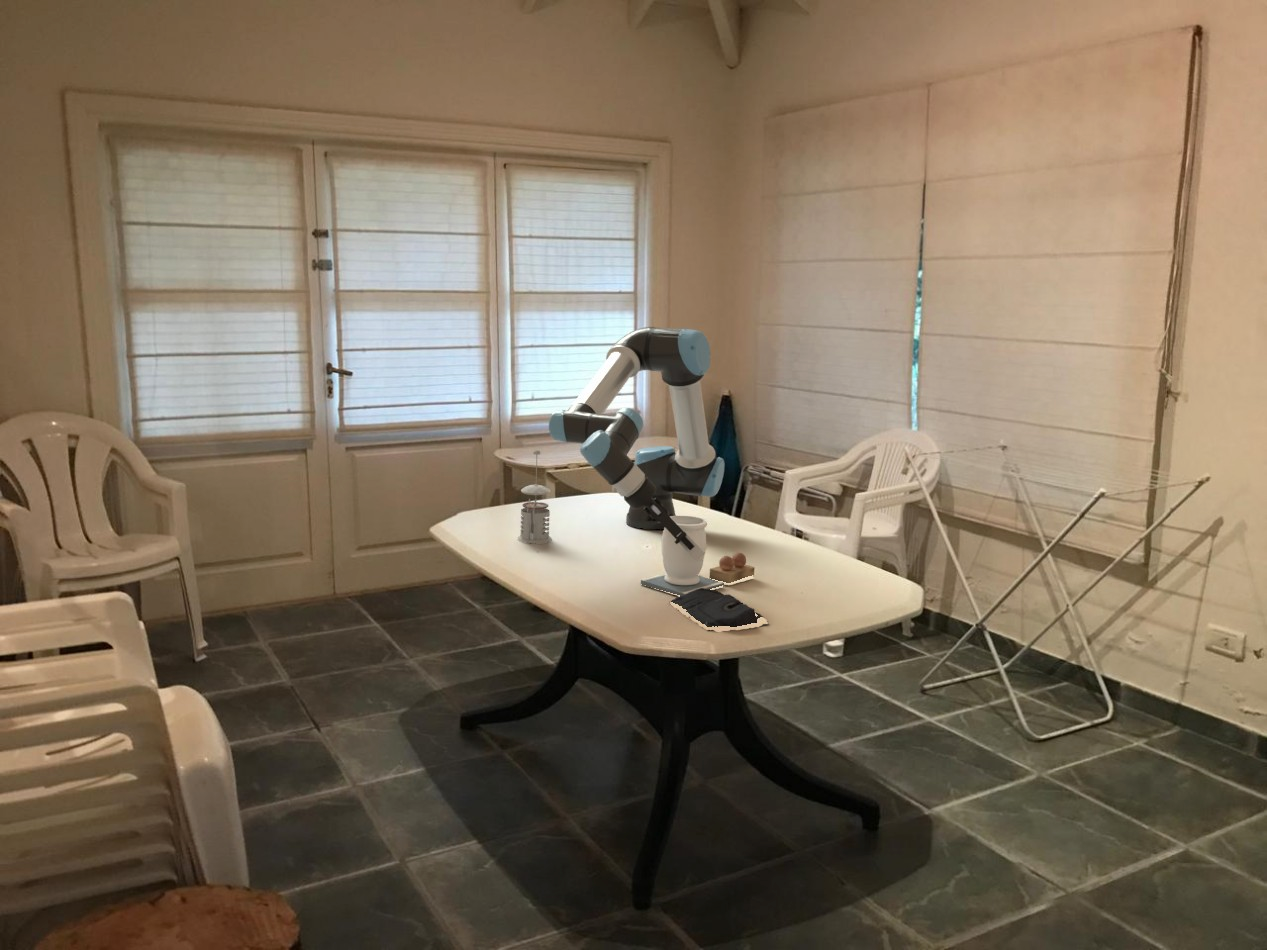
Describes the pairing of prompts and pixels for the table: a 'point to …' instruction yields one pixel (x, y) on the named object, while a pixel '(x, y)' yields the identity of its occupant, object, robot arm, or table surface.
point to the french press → (535, 515)
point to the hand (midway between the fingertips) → (693, 549)
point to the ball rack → (732, 569)
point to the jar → (683, 551)
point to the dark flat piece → (716, 608)
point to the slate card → (680, 590)
